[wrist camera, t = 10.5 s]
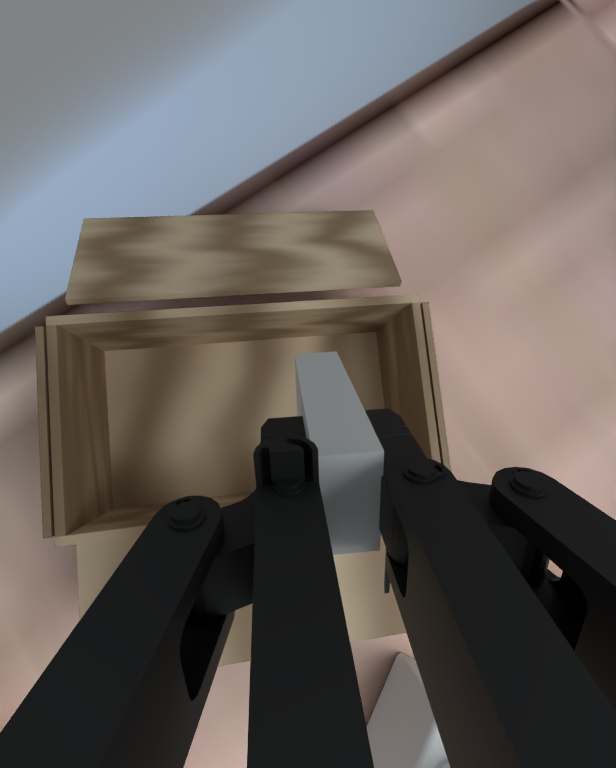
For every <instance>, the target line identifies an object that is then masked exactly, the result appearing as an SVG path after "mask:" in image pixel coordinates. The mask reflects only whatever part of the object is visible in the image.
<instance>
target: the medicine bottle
mask: <svg viewBox="0 0 616 768" xmlns="http://www.w3.org/2000/svg"><path fill="white" fill-rule="evenodd" d="M366 728H367V733H368V738H369V743H370V749H371V754H372V759H373V764H374V768H450V765H449V762H448V759H447V756H446V753H445V749H444V746H443V743H442V740H441V737H440V734H439V731H438V728H437V725H436V722H435V719H434V716H433V712H432V709H431V706H430V703H429V700H428V697H427V694H426V691H425V688H424V685H423V682H422V679H421V675H420V672H419V669H418V666H417V663H416V660H415V659H413V658H410V657H408V656H406V655H404V654H402V653H399V654H398V655H397V656H396V659H395V661H394V663H393V666H392V668H391V670H390V673H389V675H388V677H387V680H386V682H385V685H384V687H383V689H382V692H381V694H380V696H379V699H378V701H377V703H376V706H375V708H374V710H373V713H372V715H371V718H370V720H369V722H368V725H367V727H366Z"/></svg>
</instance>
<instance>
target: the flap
mask: <svg viewBox="0 0 616 768" xmlns="http://www.w3.org/2000/svg"><path fill="white" fill-rule="evenodd" d="M400 284H401V279H400V276H399V274H398V271H397V269H396V266H395V264H394V261H393V259H392V256H391V254H390V251H389V249H388V246H387V244H386V241H385V238H384V236H383V233H382V231H381V228H380V226H379V223H378V221H377V218H376V216H375V213H374V211H373V210H366V211H332V212H297V213H263V214H229V215H194V216H162V217H161V216H160V217H127V218H91V219H84V220H83V224H82V229H81V233H80V237H79V241H78V246H77V250H76V254H75V259H74V263H73V267H72V271H71V276H70V280H69V284H68V288H67V292H66V296H65V301H66V303H67V304H68V305H74V304H92V303H109V302H127V301H145V300H163V299H181V298H199V297H216V296H234V295H252V294H270V293H288V292H305V291H323V290H341V289H359V288H377V287H395V286H400Z"/></svg>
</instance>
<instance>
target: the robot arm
mask: <svg viewBox="0 0 616 768" xmlns="http://www.w3.org/2000/svg"><path fill="white" fill-rule="evenodd" d="M294 358H295V378H296V398H297V416H294V417H280V418H268V419H267V421H266V422H265V423H264V424H263V426H262V427H261V440H260V444H259V445H258V446H257V447H256V448H255V450H254V453H253V459H254V469H255V479H256V489H255V491H254V492H253V493H252V494H250V495H249V496H248V497H246V498H245V499H243V500H241V501H239V502H237V503H234V504H231V505H228V506H225V507H222V508H220V505H219V503H218V502H216V501H215V500H213V499H212V498H210V497H205V496H200V495H198V496H186V497H183V498H179V499H176V500H174V501H172V502H170V503H168V504H166V505H165V506H163V507H162V508H161V509H160V510H159V511H158V512H157V513H156V514H155V515H154V516H153V518H152V519H151V521H150V522H149V523H148V525H147V526H146V528H145V529H144V531H143V532H142V533H141V535H140V536H139V538H138V539H137V540H136V542H135V543H134V545H133V546H132V548H131V549H130V550H129V552H128V553H127V555H126V556H125V557H124V559H123V560H122V562H121V563H120V564H119V566H118V567H117V569H116V570H115V572H114V573H113V574H112V576H111V577H110V579H109V580H108V581H107V583H106V584H105V586H104V587H103V589H102V590H101V591H100V593H99V594H98V596H97V597H96V598H95V600H94V601H93V603H92V604H91V605H90V607H89V608H88V610H87V611H86V613H85V614H84V615H83V617H82V618H81V620H80V621H79V622H78V624H77V625H76V627H75V628H74V630H73V631H72V632H71V634H70V635H69V637H68V638H67V639H66V641H65V642H64V644H63V645H62V646H61V648H60V649H59V651H58V652H57V654H56V655H55V656H54V658H53V659H52V661H51V662H50V663H49V665H48V666H47V668H46V669H45V671H44V672H43V673H42V675H41V676H40V678H39V679H38V680H37V682H36V683H35V685H34V686H33V687H32V689H31V690H30V692H29V693H28V695H27V696H26V697H25V699H24V700H23V702H22V703H21V704H20V706H19V707H18V709H17V710H16V712H15V713H14V714H13V716H12V717H11V719H10V720H9V721H8V723H7V724H6V726H5V727H4V728H3V730H2V731H1V733H0V768H183V767H184V764H185V761H186V758H187V755H188V752H189V749H190V746H191V743H192V740H193V738H194V735H195V732H196V729H197V726H198V723H199V720H200V717H201V714H202V711H203V708H204V705H205V702H206V699H207V696H208V694H209V691H210V688H211V685H212V682H213V679H214V676H215V673H216V670H217V667H218V664H219V661H220V658H221V655H222V652H223V650H224V647H225V644H226V641H227V638H228V635H229V632H230V629H231V626H232V623H233V620H234V616H235V610H238V609H240V608H243V607H245V606H248V605H250V604H252V603H253V605H252V635H251V665H250V695H249V725H248V755H247V768H374V764H373V759H372V754H371V749H370V743H369V738H368V733H367V728H366V723H365V718H364V712H363V707H362V702H361V697H360V692H359V686H358V681H357V676H356V671H355V666H354V661H353V655H352V650H351V645H350V640H349V635H348V629H347V624H346V619H345V614H344V609H343V604H342V598H341V593H340V588H339V583H338V578H337V572H336V567H335V562H334V557H333V555H337V554H347V553H358V552H368V551H379V550H380V536H381V535H382V538H383V541H384V544H385V547H386V554H385V574H384V593H389V591H390V583H391V586H392V589H393V592H394V595H395V598H396V601H397V604H398V608H399V611H400V614H401V617H402V620H403V623H404V626H405V629H406V632H407V635H408V638H409V641H410V645H411V648H412V651H413V654H414V657H415V660H416V663H417V666H418V669H419V672H420V675H421V679H422V682H423V685H424V688H425V691H426V694H427V697H428V700H429V703H430V706H431V709H432V712H433V716H434V719H435V722H436V725H437V728H438V731H439V734H440V737H441V740H442V743H443V746H444V749H445V753H446V756H447V759H448V762H449V765H450V768H616V520H614V519H613V518H611V517H610V516H608V515H607V514H605V513H604V512H602V511H601V510H599V509H598V508H596V507H595V506H593V505H592V504H590V503H589V502H588V501H586V500H585V499H583V498H582V497H580V496H579V495H577V494H576V493H574V492H573V491H571V490H570V489H568V488H567V487H565V486H564V485H562V484H561V483H559V482H558V481H556V480H555V479H553V478H551V477H549V476H548V475H546V474H544V473H542V472H538V471H535V470H532V469H529V468H522V467H511V468H504V469H502V470H499V471H497V472H496V473H495V475H494V477H493V479H492V485H486V484H478V483H470V482H464V481H459V480H456V478H455V477H454V475H453V474H452V472H451V471H450V470H449V469H448V468H447V467H446V466H445V465H443V464H441V463H439V462H437V461H435V460H432V459H428V458H427V457H426V456H425V454H424V452H423V451H422V449H421V448H420V446H419V444H418V443H417V441H416V440H415V438H414V437H413V435H411V432H410V430H409V429H408V427H406V424H405V422H404V421H403V419H402V418H401V416H400V415H398V414H396V413H395V412H393V411H392V410H390V409H388V408H387V409H373V410H364V408H363V406H362V404H361V401H360V399H359V397H358V395H357V393H356V391H355V389H354V387H353V385H352V383H351V381H350V378H349V376H348V374H347V372H346V370H345V368H344V366H343V364H342V362H341V360H340V358H339V355H338V353H337V352H320V353H304V354H294ZM549 560H551V561H552V562H553V563H555V564H556V565H557V566H558V567H559V568H560V569H561V570H563V573H562V576H561V578H560V577H557V576H556V575H554V574H553V573H552V572H551V571H550V570H548V569H547V568H548V564H549Z"/></svg>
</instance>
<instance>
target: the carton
mask: <svg viewBox="0 0 616 768" xmlns="http://www.w3.org/2000/svg"><path fill="white" fill-rule="evenodd" d="M35 340H36V367H37V393H38V419H39V445H40V471H41V497H42V523H43V538H50V537H53V536H55V547H62V546H70V545H76V550H77V572H78V594H79V615H80V620H81V618H82V617H83V615H84V614H85V613H86V611H87V610H88V608H89V607H90V605H91V604H92V603H93V601H94V600H95V598H96V597H97V596H98V594H99V593H100V591H101V590H102V589H103V587H104V586H105V584H106V583H107V581H108V580H109V579H110V577H111V576H112V574H113V573H114V572H115V570H116V569H117V567H118V566H119V564H120V563H121V562H122V560H123V559H124V557H125V556H126V555H127V553H128V552H129V550H130V549H131V548H132V546H133V545H134V543H135V542H136V540H137V539H138V538H139V536H140V535H141V533H142V532H143V531H144V529H145V528H146V526H147V525H148V523H149V522H150V521H151V519H152V518H153V516H154V515H155V514H156V513H157V512H158V511H159V510H160V509H161V508H162V507H163V506H165V505H166V504H168V503H170V502H172V501H174V500H176V499H179V498H183V497H186V496H198V495H200V496H205V497H210V498H212V499H213V500H215V501H216V502H218V503H219V505H220V508H222V507H225V506H228V505H231V504H234V503H237V502H239V501H241V500H243V499H245V498H246V497H248V496H249V495H250V494H252V493H253V492H254V491H255V489H256V479H255V469H254V459H253V453H254V450H255V448H256V447H257V446H258V445H259V444H260V440H261V427H262V426H263V424H264V423H265V422H266V421H267V419H268V418H280V417H294V416H297V398H296V378H295V358H294V354H304V353H320V352H337V353H338V355H339V358H340V360H341V362H342V364H343V366H344V368H345V370H346V372H347V374H348V376H349V378H350V381H351V383H352V385H353V387H354V389H355V391H356V393H357V395H358V397H359V399H360V401H361V404H362V406H363V408H364V410H373V409H387V408H388V409H390V410H392V411H393V412H395V413H396V414H398V415H400V416H401V418H402V419H403V421H404V422H405V424H406V427H408V429H409V430H410V432H411V435H413V437H414V438H415V440H416V441H417V443H418V444H419V446H420V448H421V449H422V451H423V452H424V454H425V456H426V457H427V458H428V459H432V460H435V461H437V462H439V463H441V464H443V465H445V466H446V467H447V468H448V469H449V470H450V471H451V467H450V459H449V452H448V444H447V437H446V429H445V422H444V414H443V407H442V399H441V392H440V384H439V377H438V369H437V362H436V354H435V347H434V339H433V331H432V324H431V316H430V309H429V302H424V303H421V304H420V299H419V294H415V295H398V296H381V297H364V298H347V299H330V300H314V301H297V302H280V303H263V304H246V305H229V306H212V307H196V308H179V309H162V310H145V311H128V312H111V313H95V314H78V315H61V316H46V327H44V326H39V327H35ZM385 554H386V547H385V544H384V541H383V538H382V535H381V536H380V550H379V551H368V552H358V553H347V554H337V555H333V557H334V562H335V567H336V572H337V578H338V583H339V588H340V593H341V598H342V604H343V609H344V614H345V619H346V624H347V629H348V635H349V640H350V643H351V642H357V641H362V640H368V639H374V638H379V637H385V636H390V635H396V634H402V633H407V632H406V629H405V626H404V623H403V620H402V617H401V614H400V611H399V608H398V604H397V601H396V598H395V595H394V592H393V589H392V586H391V583H390V591H389V593H384V574H385ZM252 605H253V603H252V604H250V605H248V606H245V607H243V608H240V609H238V610H235V616H234V620H233V623H232V626H231V629H230V632H229V635H228V638H227V641H226V644H225V647H224V650H223V652H222V655H221V658H220V661H219V664H218V666H222V665H228V664H234V663H239V662H245V661H250V660H251V635H252Z"/></svg>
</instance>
